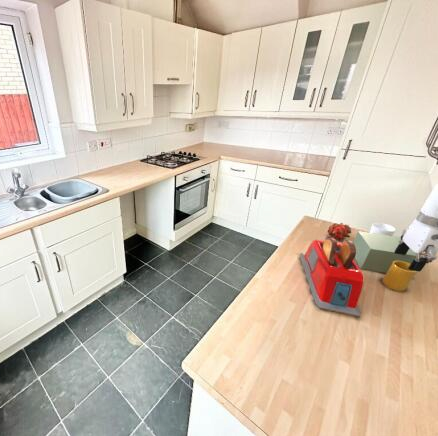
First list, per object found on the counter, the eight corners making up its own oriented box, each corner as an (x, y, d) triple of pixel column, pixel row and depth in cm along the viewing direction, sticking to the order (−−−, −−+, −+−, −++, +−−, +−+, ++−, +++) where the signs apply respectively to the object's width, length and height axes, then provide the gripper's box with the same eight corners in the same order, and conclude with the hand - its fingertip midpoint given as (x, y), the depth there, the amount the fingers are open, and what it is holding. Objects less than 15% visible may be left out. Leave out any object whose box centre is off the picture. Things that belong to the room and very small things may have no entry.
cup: (399, 281, 93) (411, 262, 88) (408, 292, 88) (421, 273, 83) (379, 277, 95) (389, 259, 91) (386, 288, 90) (398, 269, 85)
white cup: (369, 248, 111) (378, 230, 106) (360, 239, 118) (368, 221, 113) (389, 251, 109) (400, 232, 105) (379, 241, 116) (388, 223, 111)
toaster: (361, 318, 78) (388, 274, 69) (316, 308, 82) (335, 265, 73) (332, 259, 105) (348, 222, 96) (298, 254, 109) (311, 217, 100)
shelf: (393, 256, 106) (404, 237, 101) (410, 277, 94) (423, 257, 90) (349, 249, 111) (358, 231, 106) (360, 268, 99) (370, 248, 95)
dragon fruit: (345, 238, 122) (328, 246, 119) (334, 224, 125) (317, 231, 122) (360, 232, 114) (342, 241, 111) (348, 217, 117) (330, 225, 114)
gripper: (469, 235, 70) (435, 280, 78) (432, 210, 84) (406, 250, 92) (435, 230, 72) (405, 274, 80) (404, 206, 86) (382, 246, 94)
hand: (406, 261), depth 86 cm, fingers open, 9 cm apart
